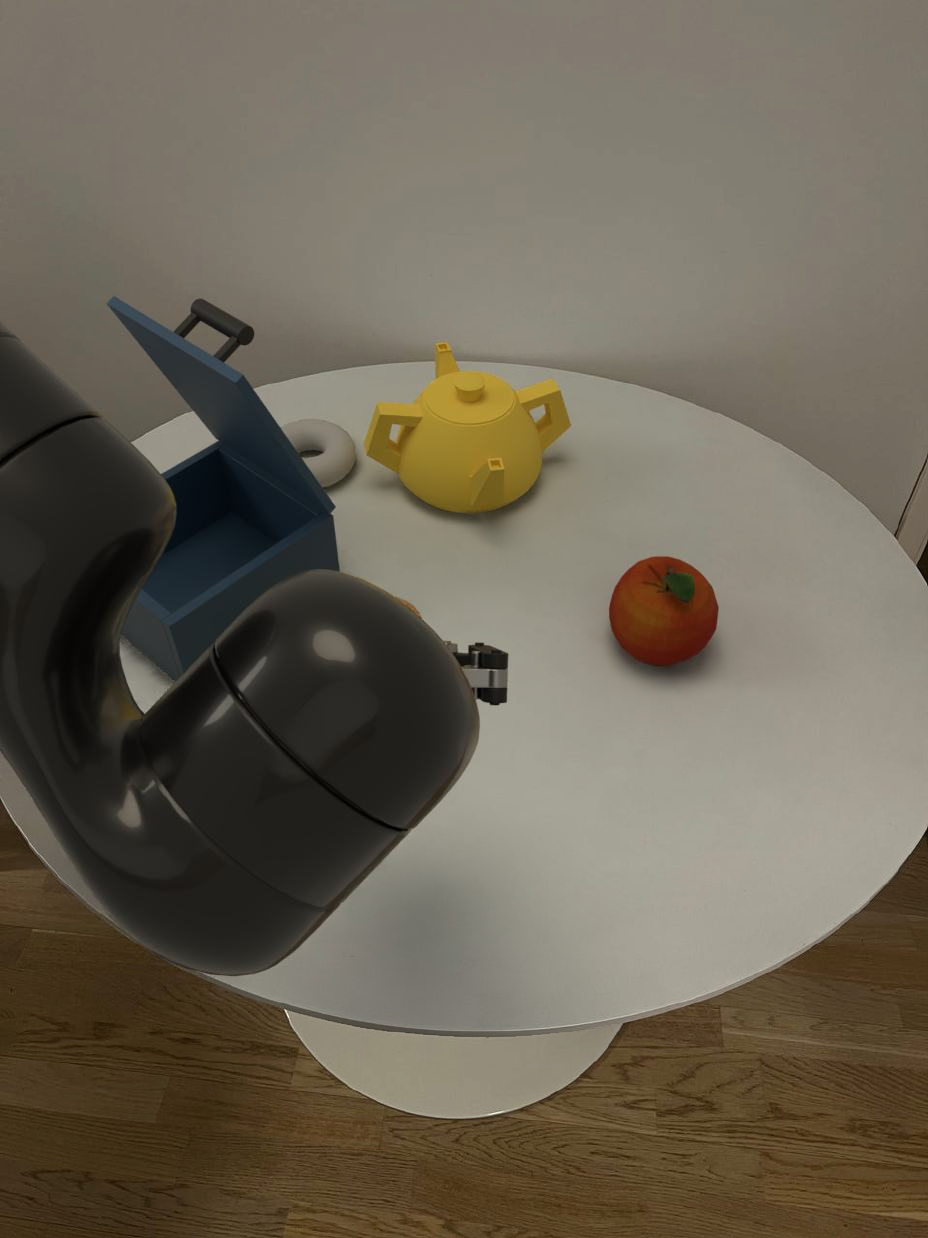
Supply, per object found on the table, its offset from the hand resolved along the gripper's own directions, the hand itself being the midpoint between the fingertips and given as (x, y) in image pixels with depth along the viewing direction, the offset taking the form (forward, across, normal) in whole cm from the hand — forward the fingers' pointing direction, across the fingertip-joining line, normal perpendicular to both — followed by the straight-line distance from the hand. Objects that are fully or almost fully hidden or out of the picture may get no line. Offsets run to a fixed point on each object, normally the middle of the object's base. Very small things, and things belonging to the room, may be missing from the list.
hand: (385, 657), depth 59 cm
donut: (+50, +12, -16) cm, 54 cm away
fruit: (+33, -22, +1) cm, 40 cm away
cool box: (+37, +19, -2) cm, 41 cm away
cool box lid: (+26, +16, -18) cm, 36 cm away
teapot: (+50, -5, -15) cm, 52 cm away
